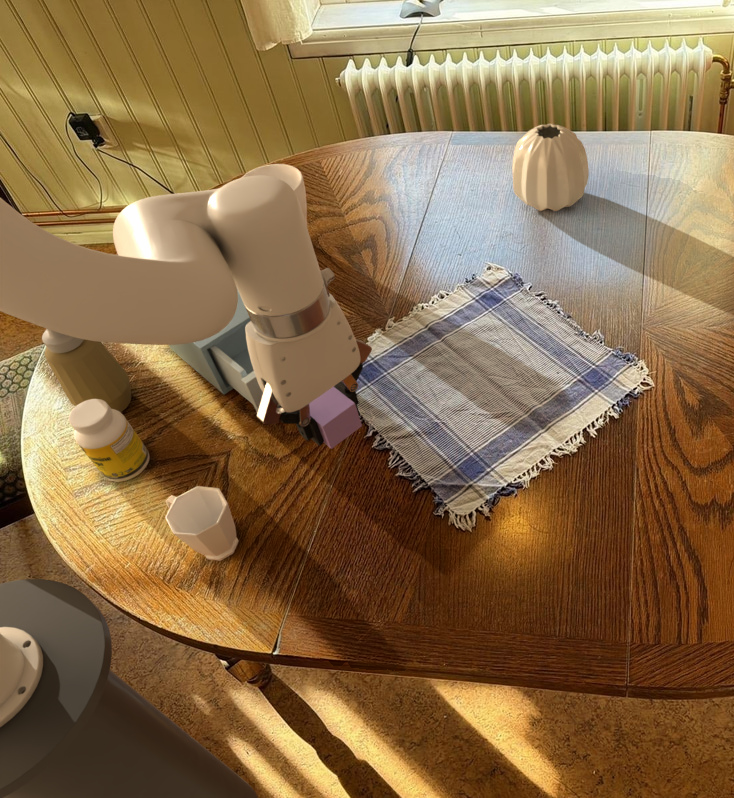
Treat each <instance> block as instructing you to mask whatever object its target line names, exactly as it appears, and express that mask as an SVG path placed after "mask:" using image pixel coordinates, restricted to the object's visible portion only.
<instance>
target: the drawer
mask: <svg viewBox="0 0 734 798" xmlns="http://www.w3.org/2000/svg"><path fill="white" fill-rule="evenodd" d="M246 325H247V324H246ZM246 325H245V326H243V327H242V328H240V329H239V330H237V331H235V332H234V333H232V334H231V335H229V336H227V337H226V338H224V339H223V340H221V341H220V342H218V343H216V344H215V345H213V346H212V347H210V348H208V349H207V350H208V352H209V354H210V356H211V358H212V360H213V362H214V364H215V366H216V368H217V370H218V372H219V374H220V376H221V378H222V379H223V380H225V381H226V382H227V383H228V384H229V385H230V386H232V387H233V390H235V392H237V393H239V395H241V396H242V397H243V398H245V399H246V401H248V402H249V403H250V404H252V406H253V408H254V411H255V412H256V414H257V413H258V409H259V406H260V402H261V399H262V395H263V392H262V390H261V388H260V386H259V384H258V381H257V378H256V375H255V372H254V369H253V366H252V363H251V359H250V355H249V351H248V346H247V340H246V331H245V327H246ZM278 406H280V405H279V403H278ZM278 406H277V407H278Z"/></svg>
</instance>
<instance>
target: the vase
mask: <svg viewBox="0 0 734 798" xmlns="http://www.w3.org/2000/svg"><path fill="white" fill-rule="evenodd" d="M511 164H512V167H511V172H512V187H513V192H514V195H516V197H517V198H519V200H521V201H522V202H523V204H525V205H526V206H528V207H532V208H534V209H536V210H537V211H540V212H543V211H545V210H548V209H549V210H551V211H553V212H558V211H560V210H562V209H563V208H570V207H572V206H573V205H574V204H576V203H578V201H579V200H580V199H581V198H582V197H583V196H584V193H585V188H586V186H587V185H588V181H589V174H590V173H589V172H590V170H589V162H588V157H587V151H586V148H585V146H584V143H583V142H582V140H580V139H579V138H578V137H577V134H576V133H575V132H573V131H572V130H571V129H569V128H567V127H565V126H563V125H559V124H555V123H547V124H539V125H537V126H535V127H533V128H531V129H529V130H528V131H527V132H526V133H525V134H524V135H523V136H521V137H520V138H519V139H518V141H517V142H516V144H515V146H514V150H513V156H512V163H511Z"/></svg>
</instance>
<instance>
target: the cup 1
mask: <svg viewBox="0 0 734 798" xmlns="http://www.w3.org/2000/svg"><path fill="white" fill-rule="evenodd" d="M165 504H166V506H167V508H168V511H167V512H166V515H165V517H164V518H165V520H166V523H167V524H168V526H169V528H170V531H171V533H172V534H173V535H174V536H175V537H177V538H178V539H179V540H181V541H182V542H183V543H184V544H186V545H187V546H188V547H189V548H190V549H191V550H193V551H194V552H197V553H198V554H201V555H202V556H205V558H206V559H207V560H210V561H222V560H225V559H226V558H228V557H230V556H231V555H233V554H234V553H235V550H236V549H237V547H238V545H239V541H240V540H239V539H238V537H237V530H236V524H235V521H234V518H233V515H232V511H231V508H230V505H229V502H228V501H227V500H226V497H225V495H224V494H223V492H222V491H221V489H220V487H210V486H201V485H197V486H194V487H193V488H191V489H189V490H188V491H186V492H184V493H182V494H180V495H178V496H175V495H173V494H171V495H170V496H168V498H167V499H165Z"/></svg>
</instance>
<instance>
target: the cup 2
mask: <svg viewBox="0 0 734 798" xmlns="http://www.w3.org/2000/svg"><path fill="white" fill-rule="evenodd" d="M257 175H261V176H270V177H274V178H277V179H280V180H282V181H284V182H285V183H287V184H288V185H289V186H290V187H291V188H292V189H293V191H294V192H295V194H296V195H297V198H298V200H299V203H300V206H301V209H302V212H303V216H304V219H305V222H306V225H307V226H308V220H307V219H308V217H307V215H308V204H307V192H306V185H305V180H304V176H303V174H302V172H301V171H300V170H299V169H298V168H297V167H295V166H293V165H291V164H286V163H271V164H265V165H261V166H258V167H256V168H253V169H251V170H250V171H247V172H246V173H245V174H243V175H242V176H241V177H240V178H243V177H247V176H257Z"/></svg>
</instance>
